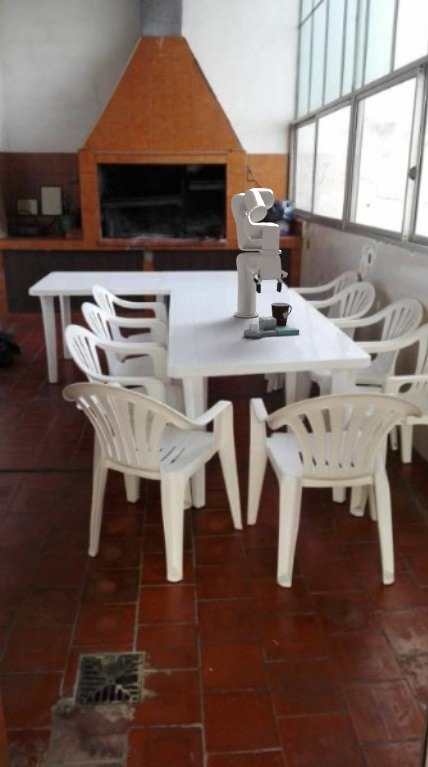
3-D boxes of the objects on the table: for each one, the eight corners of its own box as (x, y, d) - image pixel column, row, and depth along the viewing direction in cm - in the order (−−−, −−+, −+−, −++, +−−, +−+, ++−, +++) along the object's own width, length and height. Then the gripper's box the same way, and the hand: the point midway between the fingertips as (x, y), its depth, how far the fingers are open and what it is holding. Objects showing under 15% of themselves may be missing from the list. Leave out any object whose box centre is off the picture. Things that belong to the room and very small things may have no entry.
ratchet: (240, 334, 260) (241, 321, 258) (293, 331, 268) (294, 318, 266) (247, 339, 253) (247, 326, 251) (301, 335, 260) (302, 322, 258)
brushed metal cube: (258, 330, 270) (259, 317, 268) (270, 329, 271) (271, 316, 269) (263, 332, 264) (264, 319, 262) (275, 332, 266) (276, 319, 264)
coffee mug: (274, 327, 275) (275, 306, 272) (267, 323, 283) (268, 303, 280) (297, 326, 278) (298, 305, 275) (290, 322, 286) (291, 301, 282)
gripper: (284, 252, 263) (283, 290, 268) (248, 253, 258) (247, 292, 263) (291, 253, 256) (290, 292, 261) (254, 254, 251) (253, 294, 256)
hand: (268, 292), depth 262 cm, fingers open, 9 cm apart
